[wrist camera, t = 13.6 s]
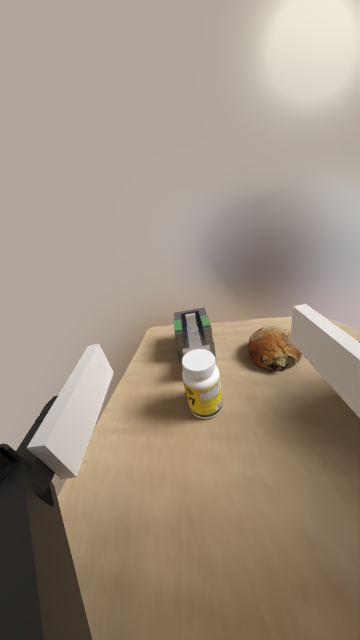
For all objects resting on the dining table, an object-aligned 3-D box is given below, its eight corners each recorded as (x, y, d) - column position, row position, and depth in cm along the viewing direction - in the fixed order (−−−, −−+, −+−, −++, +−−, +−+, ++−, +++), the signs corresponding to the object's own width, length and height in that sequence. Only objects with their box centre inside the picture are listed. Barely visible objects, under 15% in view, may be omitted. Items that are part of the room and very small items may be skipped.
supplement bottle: (184, 397, 36) (174, 353, 31) (214, 386, 37) (208, 342, 32) (195, 425, 31) (185, 378, 26) (228, 413, 32) (225, 364, 27)
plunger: (213, 373, 38) (208, 333, 34) (187, 377, 38) (179, 338, 34) (205, 342, 47) (200, 308, 43) (184, 346, 47) (178, 312, 43)
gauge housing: (215, 356, 44) (212, 326, 40) (180, 362, 44) (173, 333, 40) (208, 332, 53) (204, 306, 49) (178, 337, 53) (173, 311, 49)
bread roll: (300, 365, 42) (307, 329, 41) (294, 380, 34) (303, 335, 33) (253, 353, 48) (258, 321, 47) (238, 364, 40) (244, 325, 38)
